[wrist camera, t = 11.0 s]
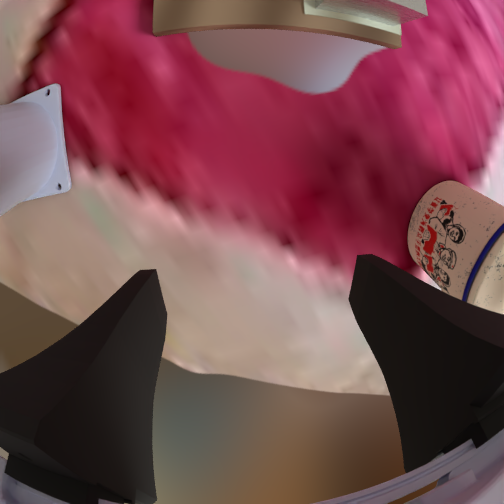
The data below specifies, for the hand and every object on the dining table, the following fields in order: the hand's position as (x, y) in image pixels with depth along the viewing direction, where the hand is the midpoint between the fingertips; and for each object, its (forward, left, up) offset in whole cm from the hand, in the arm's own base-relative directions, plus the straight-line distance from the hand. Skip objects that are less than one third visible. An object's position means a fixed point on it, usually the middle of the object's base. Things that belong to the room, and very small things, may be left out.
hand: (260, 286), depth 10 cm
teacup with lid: (+18, -4, -10) cm, 21 cm away
